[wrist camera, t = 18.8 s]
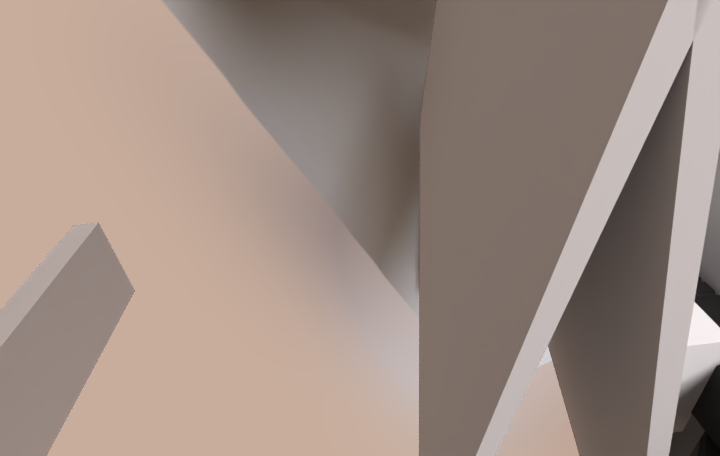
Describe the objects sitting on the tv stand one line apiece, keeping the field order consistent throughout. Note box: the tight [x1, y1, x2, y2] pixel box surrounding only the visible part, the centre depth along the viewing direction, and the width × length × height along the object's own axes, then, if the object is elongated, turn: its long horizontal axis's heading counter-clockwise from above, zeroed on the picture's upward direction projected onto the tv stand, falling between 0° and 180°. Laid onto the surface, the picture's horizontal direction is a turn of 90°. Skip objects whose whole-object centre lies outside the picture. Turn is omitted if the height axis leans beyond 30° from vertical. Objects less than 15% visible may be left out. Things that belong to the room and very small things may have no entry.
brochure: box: [419, 0, 720, 456], centre depth 19 cm, size 14×6×30 cm, turn 178°
